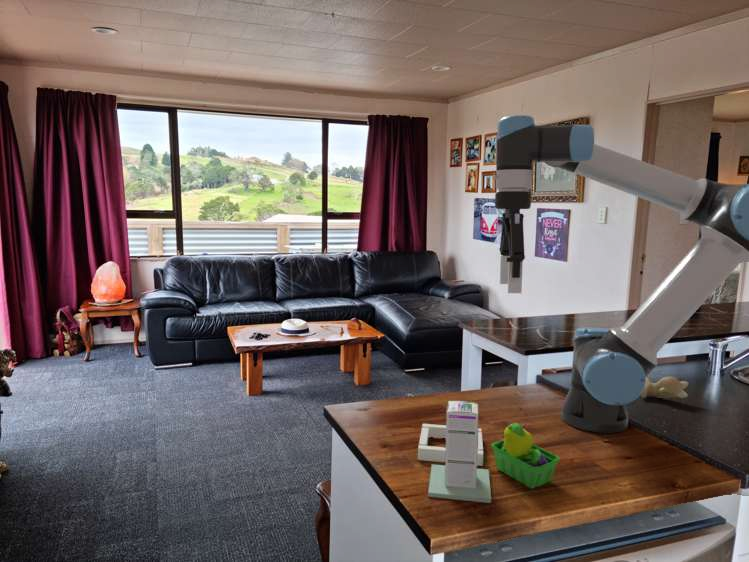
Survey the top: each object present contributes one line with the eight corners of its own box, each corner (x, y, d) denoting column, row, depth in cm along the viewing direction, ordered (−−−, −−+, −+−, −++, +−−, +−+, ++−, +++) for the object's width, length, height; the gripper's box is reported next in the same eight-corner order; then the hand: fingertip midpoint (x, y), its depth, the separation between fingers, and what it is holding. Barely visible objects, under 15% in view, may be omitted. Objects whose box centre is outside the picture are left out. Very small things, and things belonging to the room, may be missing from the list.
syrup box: (476, 490, 101) (480, 413, 99) (443, 486, 102) (446, 410, 100) (475, 475, 107) (479, 401, 105) (444, 472, 108) (447, 399, 105)
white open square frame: (480, 439, 125) (481, 428, 125) (482, 465, 112) (483, 454, 112) (422, 434, 127) (422, 423, 127) (417, 459, 114) (418, 448, 114)
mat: (488, 473, 109) (488, 469, 109) (491, 503, 98) (491, 498, 98) (431, 468, 111) (431, 464, 111) (428, 496, 100) (428, 492, 100)
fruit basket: (560, 483, 106) (564, 426, 104) (527, 495, 101) (531, 436, 100) (515, 459, 115) (518, 406, 114) (483, 469, 111) (486, 415, 109)
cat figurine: (638, 371, 158) (685, 368, 151) (645, 393, 160) (692, 391, 152) (633, 386, 152) (681, 384, 145) (640, 409, 154) (689, 407, 146)
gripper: (489, 191, 134) (487, 280, 137) (502, 189, 109) (499, 297, 112) (521, 191, 133) (518, 280, 136) (542, 189, 108) (538, 297, 111)
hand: (510, 288), depth 124 cm, fingers open, 13 cm apart
